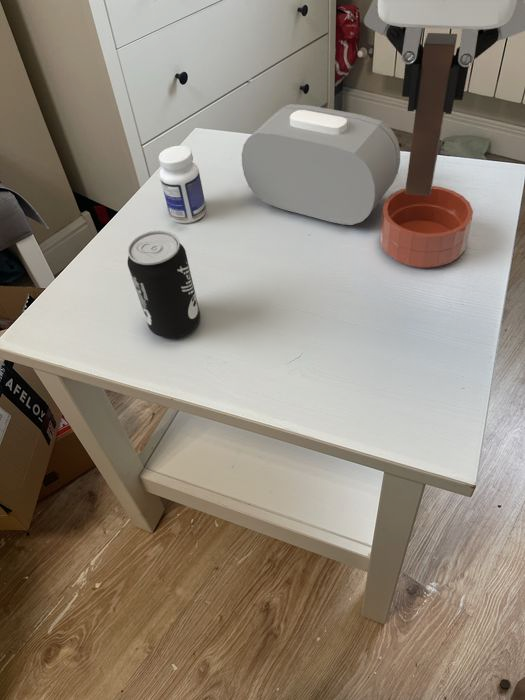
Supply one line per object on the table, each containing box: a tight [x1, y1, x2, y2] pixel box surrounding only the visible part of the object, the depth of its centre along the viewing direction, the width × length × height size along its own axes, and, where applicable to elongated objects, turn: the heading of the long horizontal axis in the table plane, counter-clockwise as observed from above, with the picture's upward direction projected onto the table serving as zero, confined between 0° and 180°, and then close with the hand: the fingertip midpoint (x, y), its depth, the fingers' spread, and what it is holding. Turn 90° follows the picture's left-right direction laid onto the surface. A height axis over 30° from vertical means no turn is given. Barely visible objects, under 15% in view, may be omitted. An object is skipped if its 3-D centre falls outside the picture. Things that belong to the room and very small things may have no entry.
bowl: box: [379, 185, 474, 269], centre depth 75 cm, size 11×11×6 cm
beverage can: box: [127, 230, 201, 339], centre depth 66 cm, size 7×7×12 cm
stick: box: [405, 32, 458, 196], centre depth 51 cm, size 2×2×14 cm
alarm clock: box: [241, 103, 401, 226], centre depth 80 cm, size 21×10×13 cm, turn 60°
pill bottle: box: [158, 145, 207, 224], centre depth 83 cm, size 6×6×10 cm
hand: (431, 103), depth 50 cm, fingers closed on stick, 2 cm apart
